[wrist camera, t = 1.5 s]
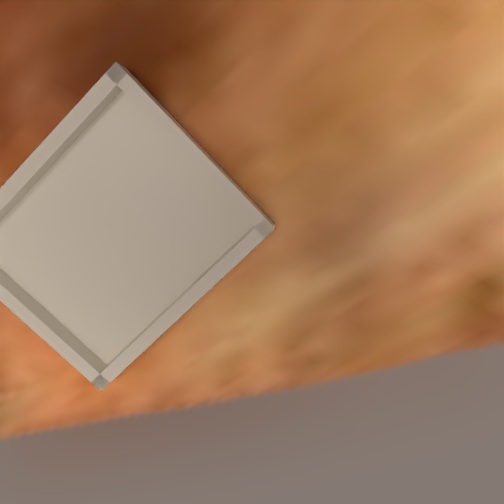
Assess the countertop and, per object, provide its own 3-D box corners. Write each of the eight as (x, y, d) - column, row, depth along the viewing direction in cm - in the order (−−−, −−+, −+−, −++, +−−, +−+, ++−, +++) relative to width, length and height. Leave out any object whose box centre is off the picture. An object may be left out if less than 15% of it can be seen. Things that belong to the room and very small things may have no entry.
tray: (-34, 243, 34) (-57, 250, 32) (126, 68, 31) (115, 61, 29) (111, 375, 36) (100, 391, 34) (274, 223, 33) (275, 228, 31)
